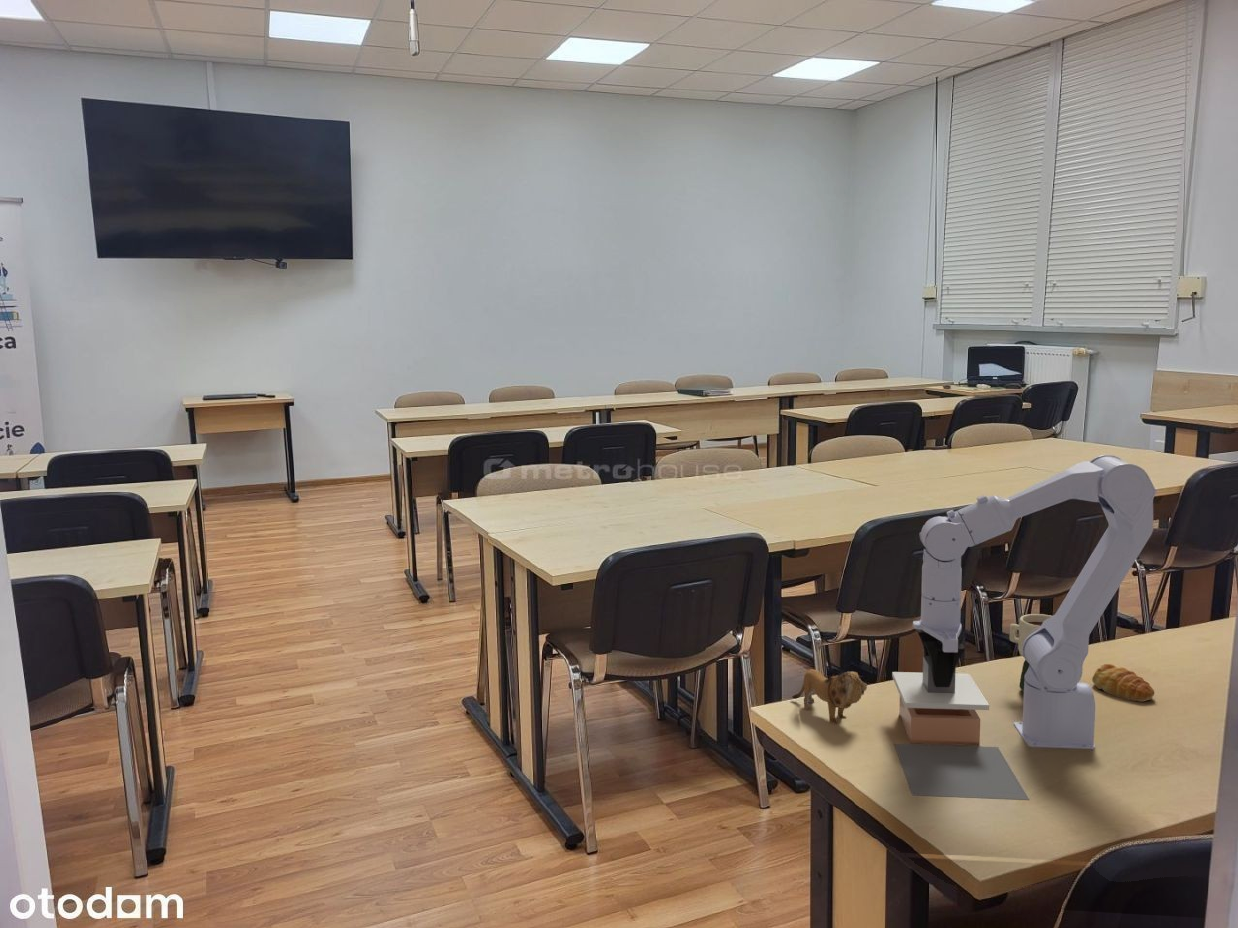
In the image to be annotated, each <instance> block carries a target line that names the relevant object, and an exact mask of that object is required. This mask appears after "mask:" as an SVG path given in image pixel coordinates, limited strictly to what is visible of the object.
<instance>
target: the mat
mask: <svg viewBox="0 0 1238 928" xmlns="http://www.w3.org/2000/svg"><path fill="white" fill-rule="evenodd" d="M893 744H894V747H895V750H896V753H897V755H898V759H899V761H900V764H901V768H902V770H903V773H904V776H905V778H906V780H907V784H908V786H909V789H910V793H911V795H912V796H921V797H942V798H944V797H948V798H966V799H967V798H968V799H969V798H971V799H993V800H1016V801H1017V800H1019V801H1030V798H1029V797H1028V795H1027V793H1026V791H1025V790H1024V788H1023V787H1022V785H1021V784H1020V781H1019V779H1018V778H1017V776H1016V775H1015V774H1014V771H1013V770H1012V768H1011V766H1010V765H1009V763H1008V761H1007V760H1006V758H1005V756H1004V754H1003V753H1002V751H1001V750H1000V748H999V747H998V746H980V745H952V744H922V743H893Z"/></svg>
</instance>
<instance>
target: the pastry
mask: <svg viewBox="0 0 1238 928" xmlns="http://www.w3.org/2000/svg"><path fill="white" fill-rule="evenodd" d="M1091 681H1092V683H1093V684H1094V685H1095V687H1096V688H1097V689H1099V690H1100V689H1101V690H1103V692H1104V693H1107V694H1109V695H1113V696H1115V697H1118V698H1122V699H1125V700H1128V701H1137V702H1140V703H1142V702H1147V701H1149V700H1152V698H1153V697H1154V696H1155V690H1154V688H1153V687H1152V686H1151V685H1150V683H1149V682H1147V680H1144V678H1143V677H1141V676H1138V675H1137V674H1136V673H1135V672H1134V671H1133V670H1128V669H1127V668H1125V667H1116V666H1115V665H1114V664H1112V663H1111V664H1110V663H1105V664H1102V665H1100V667H1099V668H1097V669H1096V670H1095V672H1094V673H1093V676H1092V679H1091Z"/></svg>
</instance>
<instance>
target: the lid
mask: <svg viewBox="0 0 1238 928" xmlns="http://www.w3.org/2000/svg"><path fill="white" fill-rule="evenodd" d="M956 669H957V667H955V670H954V674H953V677H952V681H951V684H950V687H936V686H935V684H934V680H933V674H932V666H931V660H930V657H929V656H925V655H923V657H922V672H917V671H916V672H914V671H913V672H911V671H910V672H909V671H907V672H906V671H905V672H904V671H892V672H891V677H892V679H893V682H894V684H895V687H896V688H897V691H898V694H899V697H900V696H901V699H902V701H903V703H904V706H905V708H931V709H966V710H975V711H990V703H988V701H987V699H986V698H985V696H984V695H983V693H982V691H981V690H980V688H979V687H978V685H977V683H976V682H975V681H974V679H973V678H972V676H971V674H970V673H959V672H958V673H957V672H956V671H957V670H956Z"/></svg>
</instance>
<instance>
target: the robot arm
mask: <svg viewBox="0 0 1238 928" xmlns="http://www.w3.org/2000/svg"><path fill="white" fill-rule="evenodd" d="M1156 493H1157V490H1156V488H1155V486H1154V484H1153V481H1152V480H1151V478H1150V476H1149V475H1148V472H1147V471H1145V469H1143V468H1142V467H1141V466H1139V465H1136V464H1133V463H1129V462H1127V461H1125V460H1123V459H1121V457H1119V456H1116V455H1112V454H1100V455H1098V456H1096V457H1093V458H1092V459H1091V460H1090V461H1088V460H1085V461H1081V462H1077V463H1076V464H1074V465H1072V466H1070V467H1069V468H1067V469H1064V470H1063V471H1061V472H1058V473H1057V474H1055V475H1053V476H1050V477H1049V478H1046V479H1044V480H1042V481H1040V482H1038V483H1036V484H1034V485H1032V486H1030V487H1028V488H1025V489H1024V490H1021V491H1019V492H1017V493H1015V494H1013V495H1011V496H1009V497H1007V498H1004V497H1002V496H997V495H994V494H993V495H991V496H988V497H987V495H985V494H982V495H980V496H978V497H976V500H977V502H974V503H972V504H969V505H967V506H964V507H963V508H960V509H958V510H956V511H954V509H951V510H948V511H947V512H946V516H939V515H938V516H934V517H932V518H929V519H928V520H927V521H926V522H925V524H923V526H922V527H921V531H920V532H919V539H920V542H921V543H922V545H923V546H924V547H925V548H923V555H922V561H923V562H922V566H921V592H920V593H921V598H920V599H921V600H920V602H921V603H920V605H921V606H920V619H919V620H913V621H912V627H913V628H914V630H916V632H917V634H918V636H919V638H920V641H921V644H922V648H923V651H924V656H929V657H930V660H931V666H932V674H933V680H934V684H935V686H936V687H950V684H951V681H952V677H953V674H954V670H955V667H956V666H957V664H958V662H959V660H960V659H961V657H962V655H963V654H964V653H965V649H966V647H965V645H964V644H963V643H959V639H958V638H959V637H960V634H961V632H962V630H963V629H962V627H963V626H962V623H961V617H962V616H961V615H962V614H961V609H962V580H963V579H962V578H963V576H962V574H963V573H962V572H963V569H962V556H963V555H965V552H966V550H967V549H968V547H969V548H971V547H975V546H977V545H979V544H982V543H983V542H986V541H988V540H989V541H990V540H991V539H994V538H997V537H998V536H1001V535H1003V534H1005V533H1007V532H1010V531H1012V530H1013V528H1014V525H1015V524H1016V521H1017V520H1018V519H1021V518H1022V517H1025V516H1028V515H1030V514H1033V513H1035V512H1039V511H1041V510H1044V509H1046V508H1049V507H1052V506H1054V505H1057V504H1060V503H1063V502H1066V501H1068V500H1079V501H1087V502H1092V503H1099V504H1100V507H1101V509H1102V511H1103V514H1104V516H1105V519H1106V520H1107V523H1108V527H1107V528H1106V530H1105V532H1104V533H1103V535H1102V537H1101V538H1100V539H1099V541H1098V543H1097V545H1096V547H1095V548H1094V549H1093V551H1092V553H1091V555H1090V556H1089V558H1088V559H1087V561H1086V563H1085V564H1084V566H1083V568H1082V569H1081V571H1080V573H1079V574H1078V576H1077V578H1076V579H1075V581H1074V582H1073V584H1072V586H1071V587H1070V589H1069V591H1068V593H1067V594H1066V596H1065V598H1064V599H1063V601H1062V602H1061V604H1060V606H1059V607H1058V609H1057V611H1056V612H1055V614H1053V615H1051V616H1052V617H1050V618H1048V619H1046V620H1045V621H1044V622H1043V623H1042V625H1041V627H1040V628H1039V629H1038V630H1037V631H1035V632H1033V633H1032V634H1030V635H1029V636H1028V637H1027V638H1026V639H1025V641H1024V643H1023V647H1022V652H1023V656H1024V657H1023V656H1022V657H1023V658H1024V661H1025V660H1026V661H1027V662H1028V663H1029V664H1030V665H1029V668H1028V670H1027V672H1026V673H1025V676H1024V691H1023V702H1022V703H1023V704H1022V721H1014V722H1013V726H1014V727H1015V729H1016V731H1017V732H1018V733H1019V735H1020V736H1021V738H1022V740H1023V741H1024V742H1025V744H1026V745H1027V747H1030V748H1049V749H1050V748H1053V749H1054V748H1055V749H1079V750H1081V749H1082V750H1085V749H1086V750H1096V745H1095V743H1094V742H1095V741H1094V740H1095V739H1094V738H1095V725H1096V724H1095V722H1096V699H1095V695H1094V691H1093V689H1092V687H1091V686H1090V684H1089V683H1087V682H1083V681H1082V682H1081V679H1082V676H1083V666H1084V661H1085V660H1086V658H1087V657H1088V655H1089V643H1090V635H1091V633H1092V631H1093V629H1094V628H1095V627H1096V624H1097V623H1099V620H1100V619H1101V617H1102V616H1103V614H1104V612H1105V610H1106V609H1107V607H1108V605H1109V604H1110V602H1111V600H1112V599H1113V597H1114V596H1115V594H1116V593H1117V591H1118V589H1119V587H1120V585H1121V584H1122V583H1123V581H1124V580H1125V578H1126V577H1127V574H1128V573H1129V572H1130V570H1131V569H1132V567H1133V566H1134V563H1135V562H1136V560H1137V559H1138V557H1139V555H1140V554H1141V552H1142V550H1143V549H1144V547H1145V545H1146V544H1147V542H1148V541H1149V539H1150V538H1151V537H1152V534H1153V532H1154V497H1155V496H1156ZM956 668H957V667H956Z"/></svg>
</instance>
